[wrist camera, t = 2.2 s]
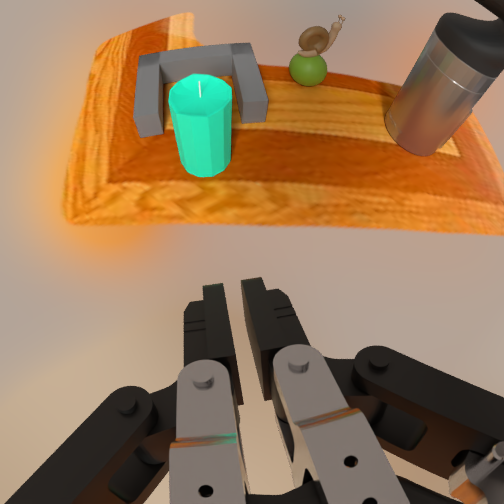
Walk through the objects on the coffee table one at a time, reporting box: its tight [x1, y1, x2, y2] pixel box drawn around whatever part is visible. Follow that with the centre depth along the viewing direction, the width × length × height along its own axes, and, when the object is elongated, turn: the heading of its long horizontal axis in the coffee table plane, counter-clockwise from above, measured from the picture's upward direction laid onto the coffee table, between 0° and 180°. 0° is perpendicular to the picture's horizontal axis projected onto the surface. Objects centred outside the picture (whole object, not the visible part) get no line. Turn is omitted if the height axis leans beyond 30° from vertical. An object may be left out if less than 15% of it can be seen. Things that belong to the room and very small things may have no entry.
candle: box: [168, 74, 232, 177], centre depth 30 cm, size 6×6×12 cm
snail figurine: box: [289, 15, 345, 86], centre depth 36 cm, size 5×6×12 cm
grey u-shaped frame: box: [133, 43, 268, 138], centre depth 37 cm, size 16×13×4 cm
